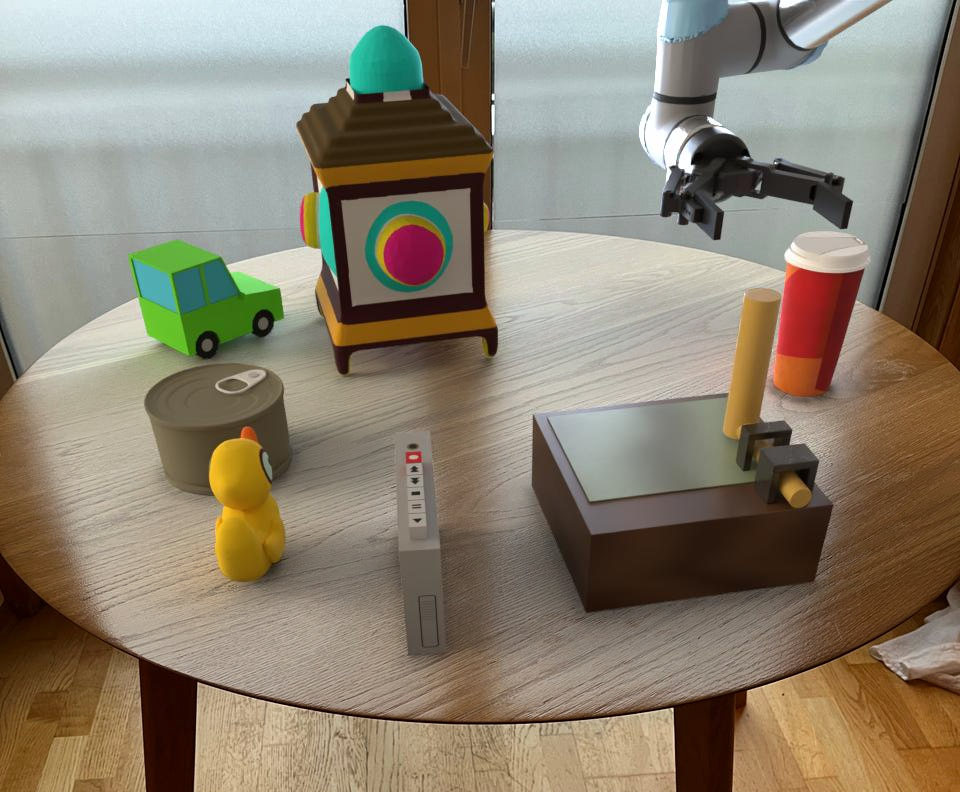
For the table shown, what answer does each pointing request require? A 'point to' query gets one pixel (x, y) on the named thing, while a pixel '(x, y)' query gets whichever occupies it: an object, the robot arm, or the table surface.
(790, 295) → the paper cup
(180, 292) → the toy car
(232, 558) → the duckling
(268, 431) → the can
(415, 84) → the decorative lantern
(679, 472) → the chest
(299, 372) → the table surface
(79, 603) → the table surface
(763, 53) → the robot arm
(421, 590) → the cassette player
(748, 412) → the bolt
